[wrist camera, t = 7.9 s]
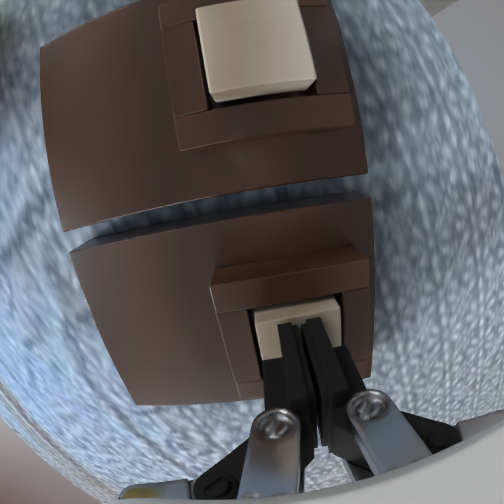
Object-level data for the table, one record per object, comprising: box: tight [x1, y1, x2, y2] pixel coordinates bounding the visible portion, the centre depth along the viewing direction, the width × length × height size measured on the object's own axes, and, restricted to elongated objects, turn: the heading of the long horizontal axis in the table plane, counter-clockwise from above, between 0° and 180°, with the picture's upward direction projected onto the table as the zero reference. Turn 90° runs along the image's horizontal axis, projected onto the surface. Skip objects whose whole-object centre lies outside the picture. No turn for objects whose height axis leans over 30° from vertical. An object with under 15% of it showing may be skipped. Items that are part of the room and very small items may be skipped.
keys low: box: [40, 0, 368, 232], centre depth 10 cm, size 14×10×4 cm
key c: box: [196, 0, 317, 103], centre depth 8 cm, size 3×3×2 cm
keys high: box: [69, 191, 375, 405], centre depth 14 cm, size 14×10×4 cm
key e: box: [254, 294, 341, 360], centre depth 12 cm, size 3×3×2 cm
